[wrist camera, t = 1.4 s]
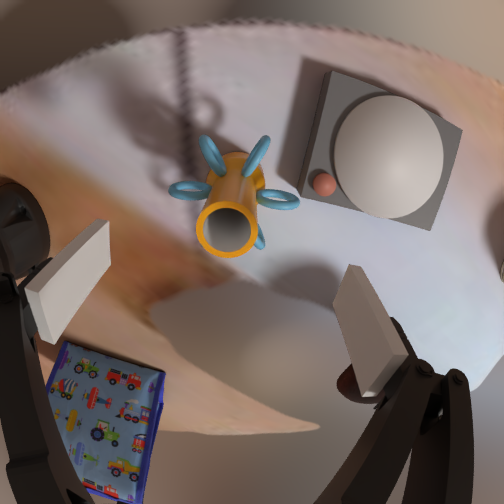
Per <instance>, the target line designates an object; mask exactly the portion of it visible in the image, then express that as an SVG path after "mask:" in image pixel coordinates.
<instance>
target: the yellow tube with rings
mask: <svg viewBox="0 0 504 504" xmlns="http://www.w3.org/2000/svg"><path fill="white" fill-rule="evenodd" d="M269 144H270V137H269V136H267V135H264V136H263V137H261V139H260V140H259V141H258V142H257V144H256V145H255V147H254V148H253V150H252V151H251V153H250V155H249V154H247V153H243V152H231V153H227V154H225V155H223V156H221V154H220V152H219V150H218V148H217V147H216V145H215V144H214V142H213V141H212V140H211V138H210V137H209V136H207V135H201V136H200V137H199V145H200V148H201V151H202V153H203V155H204V157H205V159H206V161H207V163H208V165H209V166H210V168H211V170H210V171H209V173H208V176H207V179H206V183H203V182H196V181H183V182H177V183H174V184H172V185H171V186H170V187H169V189H168V192H169V194H170V195H171V196H172V197H175V198H177V199H182V200H202V199H206V198H207V200H206V202H205V205H204V207H203V209H202V211H201V213H200V216H199V218H198V220H197V224H196V233H197V237H198V240H199V242H200V244H201V246H202V247H204V248H205V249H206V250H207V251H208V252H210V253H211V254H213V255H216V256H218V257H223V258H233V257H238V256H240V255H243V254H244V253H246V252H247V251H249V250H250V249H251V248H252V246H253V245H254V246H255V247H256V248H258V249H260V250H261V249H263V248H264V247H265V239H264V236H263V233H262V231H261V228H260V226H259V224H258V220H257V205H258V204H260V205H263V206H265V207H268V208H272V209H278V210H292V209H295V208H297V207H298V206H299V204H300V200H299V199H298V197H296V196H295V195H293V194H291V193H288V192H285V191H281V190H274V189H265V179H264V173H263V170H262V167H261V165H260V164H259V163H260V161H261V159H262V158H263V156H264V154H265V152H266V151H267V149H268V147H269ZM182 189H198V190H202V191H195V192H190V191H181V190H182ZM266 197H275V198H281V199H285V200H287V201H277V200H272V199H269V198H266Z"/></svg>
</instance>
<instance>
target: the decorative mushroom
mask: <svg viewBox="0 0 504 504" xmlns="http://www.w3.org/2000/svg"><path fill="white" fill-rule="evenodd" d="M337 389H338V390H339V392H340V393H341V394H342V395H344V396H345V397H346V398H348V399H349V400H351V401H354V402H357V403H364V404H374V403H379V402H380V400H381V399H382V398H383V397H384V396H385V392H384V389H382V390H381V391H380V392H379V394H378V395H377V396H370V397H362V396H361V392H360V389H359V385H358V382H357V379H356V375H355V372H354V369H353V365H352V363H351V365H350V366H349V367H348V368H347V369H346V370H345V371H344V372H343V373H342V374H341V375H340V377H339V378H338V380H337Z"/></svg>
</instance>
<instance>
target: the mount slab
mask: <svg viewBox="0 0 504 504" xmlns="http://www.w3.org/2000/svg"><path fill="white" fill-rule="evenodd" d="M462 131H463V130H461V129H460V128H458V127H456V126H455V125H453V124H451V123H450V122H448V121H446V120H444V119H443V118H441V117H439V116H437V115H435V114H434V113H432V112H430V111H428V110H426V109H424V108H422V107H420V106H418V105H417V104H416V103H414V102H412V101H410V100H408V99H405V98H403V97H399V96H397V95H395V94H393V93H390V92H388V91H386V90H383V89H381V88H378V87H376V86H373V85H371V84H368V83H366V82H363V81H361V80H358V79H355V78H352V77H349V76H347V75H344V74H341V73H338V72H335V71H331V72H328V73H326V74H325V76H324V80H323V85H322V89H321V93H320V98H319V102H318V106H317V110H316V114H315V119H314V123H313V127H312V131H311V135H310V139H309V143H308V147H307V151H306V155H305V159H304V163H303V167H302V171H301V175H300V179H299V182H298V186H297V191H298V193H299V194H300V196H301V197H303V198H307V199H312V200H316V201H320V202H325V203H329V204H333V205H337V206H341V207H345V208H349V209H353V210H357V211H361V212H365V213H367V214H369V215H372V216H375V217H379V218H387V219H391V220H394V221H398V222H401V223H405V224H408V225H411V226H415V227H418V228H422V229H425V230H428V231H430V230H431V228H432V225H433V223H434V220H435V217H436V215H437V212H438V210H439V207H440V204H441V201H442V199H443V196H444V193H445V190H446V187H447V184H448V181H449V178H450V174H451V171H452V168H453V165H454V161H455V158H456V154H457V150H458V147H459V143H460V139H461V135H462Z"/></svg>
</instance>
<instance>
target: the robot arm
mask: <svg viewBox="0 0 504 504" xmlns="http://www.w3.org/2000/svg"><path fill="white" fill-rule="evenodd" d="M49 249H50V235H49V229H48V225H47V221H46V218H45V216H44V213H43V211H42V209H41V207H40V205H39V204H38V202H37V201H36V199H35V198H34V197H33V195H32V194H31V193H30V192H29V191H28V190H27V189H25V188H24V187H22V186H20V185H18V184H15V183H7V184H5V185H3V186H1V187H0V419H1V425H2V429H3V434H4V438H5V442H6V446H7V450H8V454H9V458H10V461H9V463H8V464H6V472H7V476H8V480H9V483H10V486H11V488H12V491H13V494H14V497H15V499H16V501H17V504H95V503H94V501H93V499H92V498H91V496H90V494H89V492H88V491H87V489H86V488H85V487H84V485H83V484H82V482H81V481H80V479H79V477H78V476H77V473H76V471H75V469H74V467H73V465H72V462H71V460H70V458H69V455H68V453H67V451H66V448H65V446H64V443H63V440H62V438H61V435H60V432H59V430H58V427H57V424H56V421H55V418H54V415H53V412H52V408H51V405H50V402H49V398H48V395H47V391H46V387H45V383H44V379H43V375H42V370H41V366H40V361H39V356H38V351H37V345H36V340H35V338H34V334H35V333H36V331H37V330H38V332H39V335H40V337H41V340H44V341H46V342H49V343H51V344H54V345H55V343H56V342H57V340H58V339H59V337H60V336H61V334H62V332H63V331H64V329H65V328H66V326H67V325H68V323H69V322H70V320H71V319H72V317H73V316H74V314H75V313H76V311H77V310H78V309H79V307H80V306H81V304H82V303H83V301H84V300H85V299H86V297H87V296H88V294H89V293H90V292H91V290H92V289H93V287H94V286H95V285H96V283H97V282H98V281H99V279H100V278H101V277H102V275H103V274H104V273H105V271H106V270H107V269H108V268H109V266H110V265H111V262H110V242H109V221H107V220H101V219H96V220H95V221H94V222H93V223H92V224H90V225H89V226H88V227H87V228H86V229H85V230H84V231H82V232H81V233H80V234H79V235H78V236H77V237H76V238H75V239H73V240H72V241H71V242H70V243H69V244H68V245H67V246H66V247H65V248H64V249H63V250H62V251H60V252H59V253H58V254H57V255H56V256H55V257H54V258H52V257H50V258H48V259H47V257H48V254H49ZM25 276H27V277H26V278H25V279H24V280H23V281H22V282H21V283H20V284H19V285H18V286H17V285H16V281H15V280H18V279H20V278H23V277H25ZM332 305H333V308H334V310H335V313H336V316H337V319H338V322H339V325H340V328H341V331H342V334H343V337H344V340H345V343H346V346H347V350H348V353H349V356H350V359H351V362H352V365H353V369H354V372H355V375H356V379H357V382H358V385H359V389H360V392H361V396H362V397H370V396H377V395H378V394H379V392H380V391H381V390H382V389H384V392H385V396H384V397H383V398H382V399H381V400H380V402H379V403H378V404H377V405H376V406H375V407H374V409H376V408H377V409H376V411H375V412H374V415H373V416H372V418H371V420H370V421H369V423H368V425H367V427H366V428H365V430H364V432H363V433H362V435H361V437H360V439H359V440H358V442H357V443H356V445H355V447H354V448H353V450H352V451H351V453H350V454H349V456H348V457H347V459H346V461H345V462H344V463H343V465H342V466H341V468H340V469H339V471H338V472H337V473H336V475H335V476H334V478H333V479H332V480H331V482H330V483H329V484H328V486H327V487H326V488H325V490H324V491H323V492H322V494H321V495H320V496H319V497H318V499H317V500H316V501H315V502H314V503H313V504H386V502H387V500H388V498H389V496H390V494H391V492H392V490H393V489H394V487H395V484H396V483H397V481H398V478H399V476H400V474H401V472H402V470H403V468H404V465H405V463H406V461H407V459H408V456H409V454H410V451H411V449H412V453H411V459H410V466H409V471H408V477H407V482H406V487H405V491H404V496H403V500H402V504H471V503H472V491H473V476H474V474H473V473H474V437H473V419H472V408H471V399H470V390H469V383H468V379H467V377H466V376H465V374H464V373H463V372H462V371H460V370H458V369H454V368H453V369H450V370H449V371H448V373H447V374H446V375H441V374H437V373H435V372H434V369H433V367H432V366H431V365H430V364H429V363H428V362H426V361H424V360H422V359H418V358H417V356H416V354H415V352H414V350H413V348H412V346H411V344H410V342H409V340H408V339H407V336H406V334H405V333H404V331H403V329H402V327H401V325H400V324H399V323H398V322H397V321H396V320H395V319H394V318H393V317H389V315H388V314H387V312H386V310H385V308H384V306H383V304H382V302H381V301H380V299H379V297H378V295H377V294H376V292H375V290H374V288H373V286H372V285H371V283H370V281H369V279H368V278H367V276H366V274H365V273H364V271H363V269H362V268H361V267H360V266H355V265H350V264H349V266H348V268H347V271H346V273H345V275H344V278H343V280H342V283H341V285H340V287H339V290H338V292H337V294H336V297H335V299H334V301H333V304H332ZM117 504H129V503H125V502H122V501H119V500H118V501H117Z"/></svg>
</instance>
